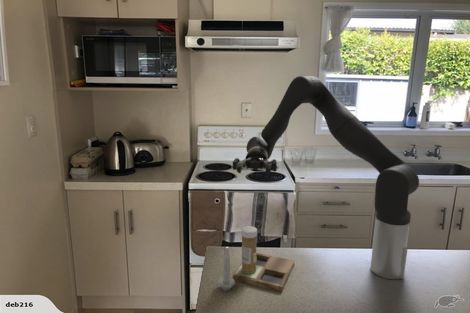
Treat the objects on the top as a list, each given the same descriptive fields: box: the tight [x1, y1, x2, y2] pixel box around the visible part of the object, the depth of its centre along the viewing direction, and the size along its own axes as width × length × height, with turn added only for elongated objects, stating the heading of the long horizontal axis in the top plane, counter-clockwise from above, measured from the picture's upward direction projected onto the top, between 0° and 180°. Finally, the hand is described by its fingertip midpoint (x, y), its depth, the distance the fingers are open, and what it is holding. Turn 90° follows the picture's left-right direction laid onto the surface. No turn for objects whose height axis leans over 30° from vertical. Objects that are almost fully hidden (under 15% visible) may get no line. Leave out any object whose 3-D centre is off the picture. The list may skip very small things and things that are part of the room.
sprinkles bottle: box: [241, 225, 258, 274], centre depth 100 cm, size 5×5×13 cm
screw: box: [217, 246, 236, 292], centre depth 95 cm, size 13×5×5 cm
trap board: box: [232, 252, 295, 293], centre depth 104 cm, size 15×15×2 cm
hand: (253, 170), depth 105 cm, fingers open, 8 cm apart
